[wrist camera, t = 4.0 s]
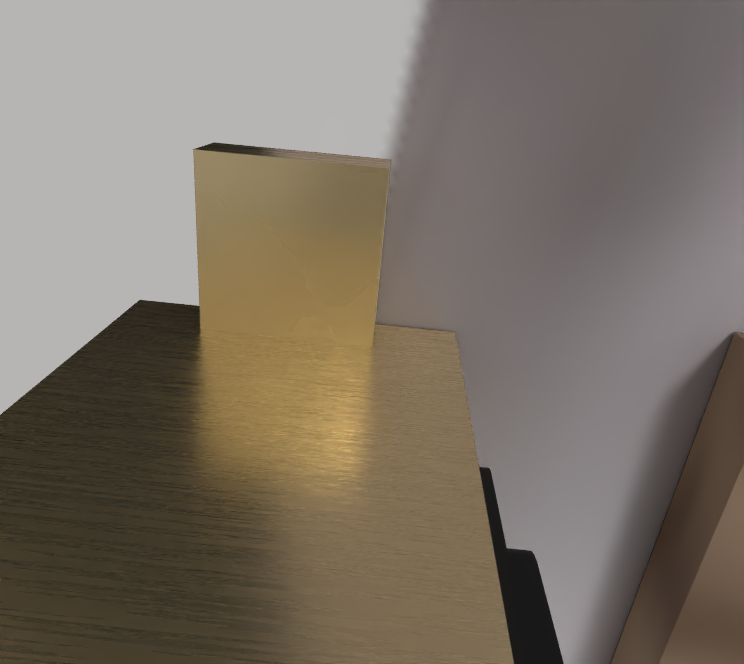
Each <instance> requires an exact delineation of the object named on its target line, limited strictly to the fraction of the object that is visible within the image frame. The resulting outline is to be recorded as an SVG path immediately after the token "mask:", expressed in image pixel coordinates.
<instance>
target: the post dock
mask: <svg viewBox="0 0 744 664" xmlns="http://www.w3.org/2000/svg"><path fill="white" fill-rule="evenodd" d="M611 664H744V333H738V332H734V335H733V338H732V340H731V343H730V346H729V348H728V351H727V354H726V356H725V359H724V362H723V364H722V367H721V370H720V373H719V375H718V378H717V381H716V383H715V386H714V389H713V391H712V394H711V397H710V399H709V402H708V405H707V407H706V410H705V413H704V415H703V418H702V421H701V423H700V426H699V429H698V431H697V434H696V437H695V439H694V442H693V445H692V447H691V450H690V453H689V455H688V458H687V461H686V463H685V466H684V469H683V472H682V474H681V477H680V480H679V482H678V485H677V488H676V490H675V493H674V496H673V498H672V501H671V504H670V506H669V509H668V512H667V514H666V517H665V520H664V522H663V525H662V528H661V530H660V533H659V536H658V538H657V541H656V544H655V546H654V549H653V552H652V554H651V557H650V560H649V563H648V565H647V568H646V571H645V573H644V576H643V579H642V581H641V584H640V587H639V589H638V592H637V595H636V597H635V600H634V603H633V605H632V608H631V611H630V613H629V616H628V619H627V621H626V624H625V627H624V629H623V632H622V635H621V637H620V640H619V643H618V645H617V648H616V651H615V654H614V656H613V659H612V662H611Z"/></svg>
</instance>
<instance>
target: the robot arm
mask: <svg viewBox="0 0 744 664" xmlns="http://www.w3.org/2000/svg"><path fill="white" fill-rule="evenodd" d="M479 470H480V475H481V481H482V487H483V492H484V498H485V504H486V509H487V515H488V520H489V526H490V532H491V537H492V543H493V549H494V554H495V560H496V566H497V571H498V577H499V582H500V588H501V594H502V599H503V605H504V611H505V616H506V622H507V628H508V633H509V639H510V645H511V650H512V656H513V661H514V664H564V663H563V659H562V656H561V652H560V648H559V644H558V640H557V636H556V633H555V629H554V625H553V621H552V617H551V614H550V610H549V606H548V602H547V598H546V594H545V591H544V587H543V583H542V579H541V575H540V572H539V568H538V564H537V561H536V558H535V555H534V554H533V553H532V551H527V550H518V549H508V548H506V543H505V538H504V533H503V529H502V524H501V519H500V514H499V509H498V504H497V499H496V494H495V489H494V485H493V480H492V475H491V471H490V469H489V468H484V467H479Z"/></svg>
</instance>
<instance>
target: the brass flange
mask: <svg viewBox="0 0 744 664" xmlns="http://www.w3.org/2000/svg"><path fill="white" fill-rule="evenodd" d="M193 150H194V175H195V202H196V227H197V253H198V277H199V303H200V306H194V305H184V304H174V303H165V302H155V301H145V300H139V301H138V302H137V303H135V304H134V305H133V306H132V307H131V308H129V309H128V310H127V311H126V312H125V313H123V314H122V315H121V316H120V317H118V318H117V319H116V320H115V321H114V322H112V323H111V324H110V325H109V326H108V327H107V328H105V329H104V330H103V331H101V332H100V333H99V334H98V335H97V336H96V337H94V338H93V339H92V340H91V341H89V342H88V343H87V344H86V345H85V346H83V347H82V348H81V349H80V350H78V351H77V352H76V353H75V354H74V355H72V356H71V357H70V358H69V359H68V360H66V361H65V362H64V363H63V364H61V365H60V366H59V367H58V368H57V369H55V370H54V371H53V372H52V373H51V374H49V375H48V376H47V377H46V378H44V379H43V380H42V381H41V382H40V383H38V384H37V385H36V386H35V387H33V388H32V389H31V390H30V391H29V392H27V393H26V394H25V395H24V396H23V397H21V398H20V399H19V400H18V401H17V402H15V403H14V404H13V405H12V406H10V407H9V408H8V409H7V410H6V411H4V412H3V413H2V414H1V415H0V664H514V661H513V656H512V650H511V645H510V639H509V633H508V628H507V622H506V616H505V611H504V605H503V599H502V594H501V588H500V582H499V577H498V571H497V566H496V560H495V554H494V549H493V543H492V537H491V532H490V526H489V520H488V515H487V509H486V504H485V498H484V492H483V487H482V481H481V475H480V470H479V464H478V458H477V453H476V447H475V441H474V436H473V430H472V425H471V419H470V413H469V408H468V402H467V396H466V391H465V385H464V379H463V374H462V368H461V362H460V357H459V351H458V346H457V340H456V334H455V332H449V331H440V330H430V329H420V328H410V327H400V326H391V325H381V324H376V315H377V304H378V294H379V283H380V273H381V262H382V252H383V241H384V231H385V220H386V210H387V199H388V189H389V178H390V168H391V160H389V159H379V158H369V157H357V156H348V155H336V154H327V153H317V152H306V151H295V150H285V149H275V148H264V147H254V146H244V145H233V144H222V143H211V144H208V145H205V146H202V147H199V148H196V149H193Z"/></svg>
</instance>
